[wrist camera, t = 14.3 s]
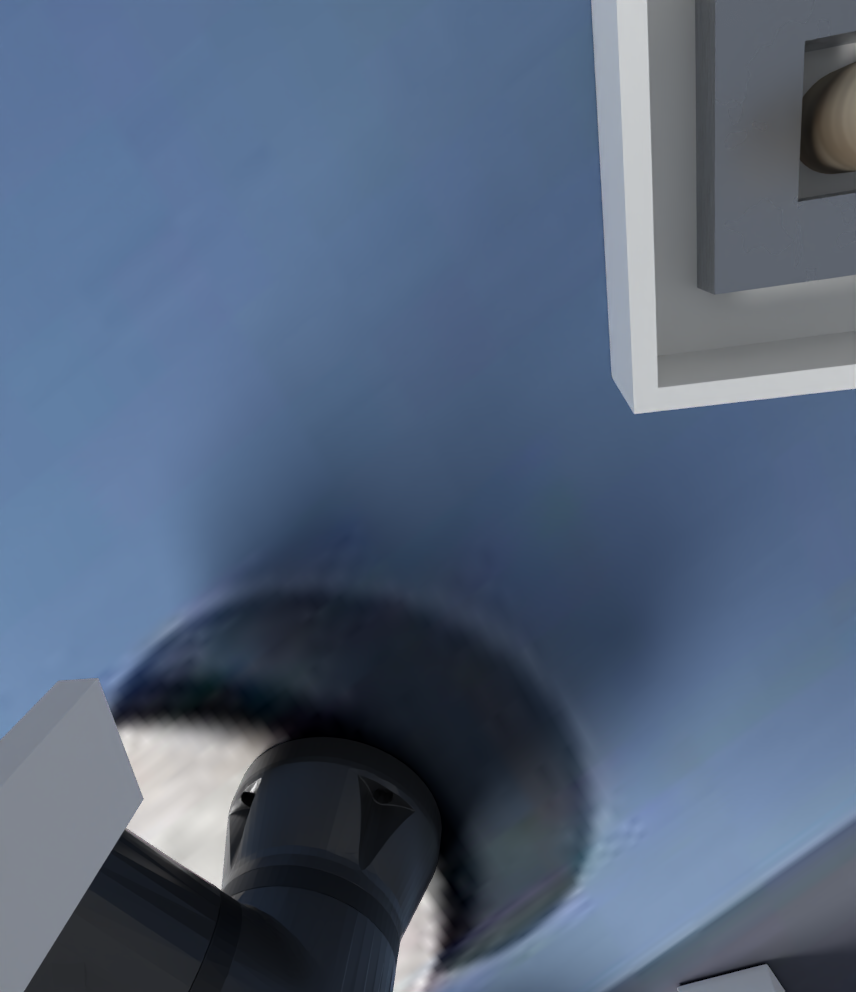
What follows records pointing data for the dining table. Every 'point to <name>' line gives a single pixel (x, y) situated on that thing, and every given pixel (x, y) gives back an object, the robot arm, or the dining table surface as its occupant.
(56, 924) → the robot arm
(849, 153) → the peg
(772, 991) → the milk carton
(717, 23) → the bore plate
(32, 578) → the dining table surface
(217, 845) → the dining table surface
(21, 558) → the dining table surface
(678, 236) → the box
